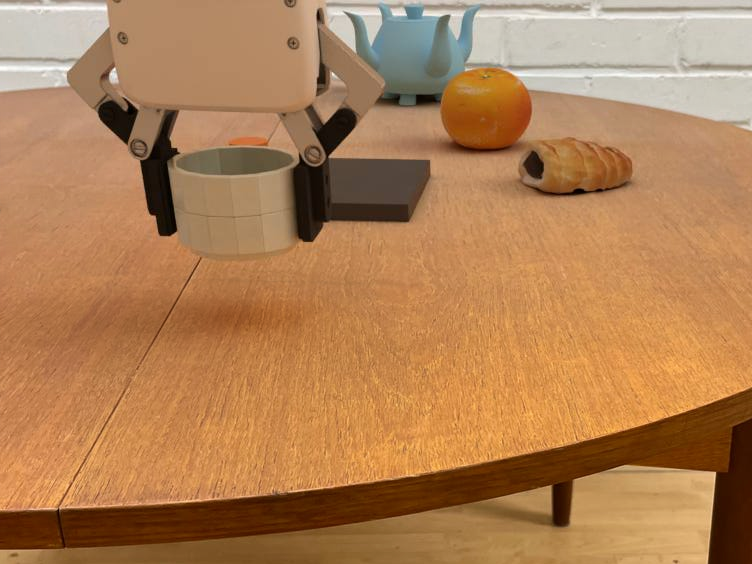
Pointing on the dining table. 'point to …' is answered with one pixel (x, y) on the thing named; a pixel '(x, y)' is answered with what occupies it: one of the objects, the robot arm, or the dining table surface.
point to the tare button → (249, 141)
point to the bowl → (235, 201)
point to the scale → (376, 188)
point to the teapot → (415, 51)
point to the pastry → (573, 166)
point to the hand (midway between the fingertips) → (242, 229)
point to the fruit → (485, 108)
